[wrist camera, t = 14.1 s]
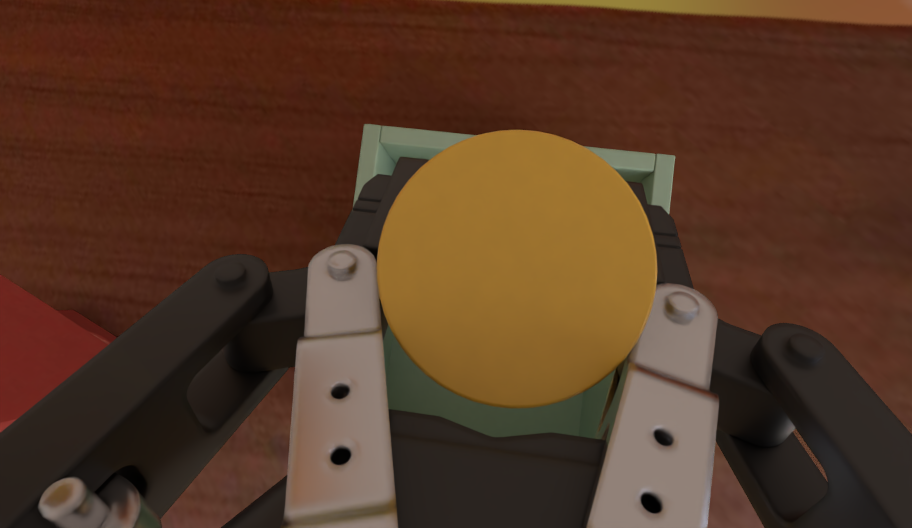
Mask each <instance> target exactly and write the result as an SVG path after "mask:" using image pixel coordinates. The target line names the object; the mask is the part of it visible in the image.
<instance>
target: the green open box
mask: <svg viewBox="0 0 912 528" xmlns="http://www.w3.org/2000/svg"><path fill="white" fill-rule="evenodd" d="M474 136H477V135H469V134H459V133H450V132H440V131H430V130H420V129H411V128H401V127H391V126H382V127H381V126H380V125H373V124H364V128H363V136H362V143H361V151H360V158H359V165H358V173H357V180H356V188H355V195H354V202H353V206H354V204H355V202H356V200H358V196H359V194H360V192H361V190H362V188H363V186H364V184H365V183H367V182H368V181H369V180H370V179H372V178H373V177H374V176H376V175H377V174H383V175H392V174H393V171H394V169H395V167H396V164H397V162H398V159H399V158H400V157H410V158H419V159H428V160H430V159H431V158H433V157H434V156H435V155H437V154H438V153H440V152H442V151H443V150H445V149H446V148H448V147H450V146H452V145H454V144H456V143H458V142H461V141H463V140H465V139H468V138H471V137H474ZM583 147H585V146H583ZM585 148H587V149H589V150H590V151H592V152H593V153H595V154H596V155H598V156H599V157H601V158H602V159H603V160H605V161H606V162H607V163H608V164H609V165H610V166H611V167H612V168H614V169H615V170H616V171H617V172H618V173H619V174H620V176H621V177H622V178H623V179H624V180H625V181H628V182H637V183H642V184H643V187H644V191H645V196H646V200H647V204H650V205H659V206H662V207H663V209H664V210H665V211H666V212H667V213H668V214H669V209H670V200H671V191H672V181H673V172H674V163H675V156H674V155H665V154H656V155H655V154H653V153H644V152H634V151H624V150H614V149H605V148H595V147H585ZM352 211H353V210H352ZM383 350H384V362H385V374H386V386H387V398H388V409H393V410H400V411H407V412H414V413H421V414H428V415H435V416H440V417H443V418H445V419H448V420H450V421H453V422H455V423H458V424H460V425H463V426H465V427H468V428H470V429H473V430H475V431H478V432H480V433H483V434H485V435H488V436H491V437H507V436H518V435H528V434H538V433H549V432H553V433H560V434H567V435H574V436H581V437H588V438H595V434H596V431H597V427H598V424H599V420H600V417H601V414H602V410H603V407H604V403H605V400H606V397H607V393H608V390H609V386H610V383H611V379H612V377H613V374H614V372H615V370H614V371H613V372H612V373H610V374H609V375H608V376H607V377H605V378H604V379H603V380H602V381H600V382H599V383H598V384H596V385H595V386H593V387H591V388H590V389H588V390H586V391H585V392H583V393H581V394H579V395H576V396H574V397H572V398H570V399H567V400H565V401H561V402H558V403H554V404H551V405H547V406H541V407H534V408H512V409H510V408H501V407H493V406H488V405H484V404H481V403H477V402H473V401H471V400H468V399H466V398H463V397H461V396H458V395H456V394H454V393H452V392H450V391H449V390H447V389H445V388H443V387H442V386H440V385H439V384H437V383H436V382H435V381H433V380H432V379H431V378H429V377H428V376H427V375H425V374H424V373H423V372H422V371H421V370H420V369H419V368H418V367H417V366H416V365H415V364H414V363H413V362H412V361H411V360H410V358H409V357H408V356H407V354H406V353H405V352H404V351H403V349H402V348H401V347H400V345H399V343H398V342H397V340H396V338H395V337H394V335H393V333H392V331H391V329H390V327H389V325H388V327H387V331H386V334H385V337H384V340H383Z"/></svg>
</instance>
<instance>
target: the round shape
mask: <svg viewBox="0 0 912 528" xmlns="http://www.w3.org/2000/svg"><path fill="white" fill-rule="evenodd" d="M377 283H378V290H379V297H380V301H381V304H382V308H383V311H384V315H385V317H386V320H387V322H388V324H389V327H390V329H391V331H392V333H393V335H394V337H395V338H396V340H397V342H398V343H399V345H400V347H401V348H402V349H403V351H404V352H405V353H406V354H407V356H408V357H409V358H410V360H411V361H412V362H413V363H414V364H415V365H416V366H417V367H418V368H419V369H420V370H421V371H422V372H423V373H424V374H425V375H427V376H428V377H429V378H431V379H432V380H433V381H435V382H436V383H437V384H439V385H440V386H442V387H443V388H445V389H447V390H449V391H450V392H452V393H454V394H456V395H458V396H461V397H463V398H466V399H468V400H471V401H473V402H477V403H481V404H484V405H488V406H493V407H501V408H510V409H512V408H534V407H541V406H547V405H551V404H554V403H558V402H561V401H565V400H567V399H570V398H572V397H574V396H576V395H579V394H581V393H583V392H585V391H586V390H588V389H590V388H591V387H593V386H595V385H596V384H598V383H599V382H600V381H602V380H603V379H604V378H605V377H607V376H608V375H609V374H610V373H612V372H613V371H614V370H615V369H616V368H617V367H618V366H619V364H620V363H621V362H622V361H623V360H624V359H625V358H626V357H627V355H628V354H629V353H630V351H631V350H632V348H633V347H634V346H635V344H636V343H637V341H638V339H639V337H640V335H641V334H642V332H643V330H644V328H645V326H646V323H647V320H648V318H649V315H650V312H651V310H652V306H653V301H654V297H655V292H656V283H657V253H656V248H655V243H654V237H653V233H652V230H651V227H650V224H649V221H648V218H647V216H646V214H645V212H644V210H643V208H642V206H641V203H640V201H639V200H638V198H637V197H636V195H635V194H634V192H633V191H632V189H631V188H630V186H629V185H628V184H627V182H626V181H625V180H624V179H623V178H622V177H621V176H620V174H619V173H618V172H617V171H616V170H615V169H614V168H612V167H611V166H610V165H609V164H608V163H607V162H606V161H605V160H603V159H602V158H601V157H599V156H598V155H596V154H595V153H593V152H592V151H590V150H589V149H587V148H585V147H583V146H581V145H579V144H577V143H575V142H573V141H571V140H568V139H565V138H562V137H559V136H557V135H553V134H548V133H544V132H539V131H529V130H501V131H495V132H490V133H484V134H480V135H477V136H474V137H471V138H468V139H465V140H463V141H461V142H458V143H456V144H454V145H452V146H450V147H448V148H446V149H445V150H443V151H442V152H440V153H438V154H437V155H435V156H434V157H433V158H431V159H430V160H429V161H428V162H427V163H425V164H424V165H423V166H422V167H420V169H419V170H418V171H417V172H416V173H415V174H414V175H413V176H412V177H411V178H410V179H409V180H408V182H407V183H406V184H405V186H404V187H403V188H402V190H401V191H400V193H399V194H398V196H397V197H396V199H395V201H394V203H393V205H392V207H391V208H390V210H389V213H388V215H387V218H386V221H385V223H384V226H383V229H382V233H381V237H380V241H379V246H378V255H377Z"/></svg>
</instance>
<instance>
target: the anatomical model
mask: <svg viewBox="0 0 912 528" xmlns="http://www.w3.org/2000/svg"><path fill="white" fill-rule="evenodd" d="M116 338H117V337H116V336H114V335H112V334H111V333H109V332H108V331H106V330H105V329H103V328H101V327H100V326H98V325H97V324H95V323H93V322H92V321H90V320H89V319H87V318H86V317H84V316H82V315H81V314H79V313H78V312H76V311H74V310H59V311H56V310H55V309H53V308H52V307H50V306H49V305H47V304H46V303H44V302H42V301H41V300H39V299H38V298H36V297H35V296H33V295H32V294H30V293H28V292H27V291H25V290H24V289H22V288H21V287H19V286H17V285H16V284H14V283H13V282H11V281H10V280H8V279H7V278H5V277H3V276H2V275H0V433H1V432H2V431H3V430H4V429H5V428H7V427H8V426H9V425H10V424H12V423H13V422H14V421H15V420H17V419H18V418H19V417H20V416H21V415H23V414H24V413H25V412H26V411H28V410H29V409H30V408H31V407H33V406H34V405H35V404H36V403H37V402H39V401H40V400H41V399H42V398H44V397H45V396H46V395H47V394H49V393H50V392H51V391H52V390H53V389H55V388H56V387H57V386H58V385H60V384H61V383H62V382H63V381H65V380H66V379H67V378H68V377H69V376H71V375H72V374H73V373H74V372H76V371H77V370H78V369H79V368H81V367H82V366H83V365H84V364H85V363H87V362H88V361H89V360H90V359H92V358H93V357H94V356H95V355H97V354H98V353H99V352H100V351H101V350H103V349H104V348H105V347H106V346H108V345H109V344H110V343H111V342H113V341H114V340H115V339H116Z"/></svg>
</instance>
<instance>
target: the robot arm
mask: <svg viewBox="0 0 912 528" xmlns="http://www.w3.org/2000/svg"><path fill="white" fill-rule="evenodd" d="M428 161H429V160H428V159H419V158H410V157H400V158H399V159H398V162H397V164H396V167H395V169H394V171H393V174H392V175H383V174H377V175H376V176H374V177H373V178H372V179H370V180H369V181H368V182H367V183H365V184H364V186H363V188H362V190H361V192H360V194H359V196H358V200H356V202H355V204H354V206H353V211H352V210H351V213H350V215H349V217H348V219H347V221H346V223H345V225H344V227H343V229H342V231H341V233H340V235H339V237H338V240H337V242H336V244H335V246H331V247H328V248H326V249H324V250H322V251H320V252H319V253H317V254H316V255H315V256H314V257H313V258H312V260H311V261H310V263H309V267H306V268H302V269H296V270H288V271H279V272H270V273H269V272H268V268H267V266H266V264H265V263H264V262H263V261H262V260H261V259H259V258H257V257H255V256H252V255H246V254H235V255H229V256H225V257H221V258H219V259H216V260H214V261H212V262H211V263H209V264H208V265H206V266H205V267H204V268H202V269H201V270H200V271H199V272H197V273H196V274H195V275H194V276H192V277H191V278H190V279H189V280H188V281H186V282H185V283H184V284H183V285H181V286H180V287H179V288H178V289H177V290H175V291H174V292H173V293H172V294H170V295H169V296H168V297H167V298H165V299H164V300H163V301H162V302H161V303H159V304H158V305H157V306H156V307H154V308H153V309H152V310H151V311H149V312H148V313H147V314H146V315H145V316H143V317H142V318H141V319H140V320H138V321H137V322H136V323H135V324H133V325H132V326H131V327H130V328H129V329H127V330H126V331H125V332H124V333H122V334H121V335H120V336H119V337H117V338H116V339H115V340H114V341H113V342H111V343H110V344H109V345H108V346H106V347H105V348H104V349H103V350H101V351H100V352H99V353H98V354H97V355H95V356H94V357H93V358H92V359H90V360H89V361H88V362H87V363H85V364H84V365H83V366H82V367H81V368H79V369H78V370H77V371H76V372H74V373H73V374H72V375H71V376H69V377H68V378H67V379H66V380H65V381H63V382H62V383H61V384H60V385H58V386H57V387H56V388H55V389H53V390H52V391H51V392H50V393H49V394H47V395H46V396H45V397H44V398H42V399H41V400H40V401H39V402H37V403H36V404H35V405H34V406H33V407H31V408H30V409H29V410H28V411H26V412H25V413H24V414H23V415H21V416H20V417H19V418H18V419H17V420H15V421H14V422H13V423H12V424H10V425H9V426H8V427H7V428H5V429H4V430H3V431H2V432H1V433H0V528H162V524H161V520H160V519H161V517H162V516H163V515H164V514H165V513H166V512H167V510H168V509H169V508H170V507H171V506H172V505H173V503H174V502H175V501H176V500H177V499H178V498H179V496H180V495H181V494H182V493H183V492H184V490H185V489H186V488H187V487H188V486H189V485H190V483H191V482H192V481H193V480H194V479H195V478H196V476H197V475H198V474H199V473H200V472H201V471H202V469H203V468H204V467H205V466H206V465H207V464H208V462H209V461H210V460H211V459H212V458H213V457H214V455H215V454H216V453H217V452H218V451H219V450H220V448H221V447H222V446H223V445H224V444H225V443H226V441H227V440H228V439H229V438H230V437H231V436H232V434H233V433H234V432H235V431H236V430H237V429H238V427H239V426H240V425H241V424H242V423H243V421H244V420H245V419H246V418H247V417H248V416H249V414H250V413H251V412H252V411H253V410H254V409H255V407H256V406H257V405H258V404H259V403H260V402H261V400H262V399H263V398H264V397H265V396H266V395H267V393H268V392H269V391H270V390H271V389H272V388H273V386H274V385H275V384H276V383H277V382H278V381H279V379H280V378H281V377H282V376H283V375H284V374H285V372H286V371H287V370H288V368H289V367H295V376H294V390H293V404H292V418H291V431H290V445H289V459H288V473H287V476H285V477H284V478H283V479H282V480H280V481H279V482H278V483H277V484H275V485H274V486H273V487H272V488H270V489H269V490H268V491H267V492H265V493H264V494H263V495H262V496H260V497H259V498H258V499H256V500H255V501H254V502H253V503H251V504H250V505H249V506H248V507H246V508H245V509H244V510H243V511H241V512H240V513H239V514H238V515H236V516H235V517H234V518H233V519H231V520H230V521H229V522H227V523H226V524H225V525H224V526H222V527H221V528H707V522H708V512H709V501H710V491H711V481H712V471H713V461H714V451H715V440H716V442H717V444H718V446H719V447H720V449H721V451H722V453H723V454H724V456H725V458H726V460H727V461H728V463H729V465H730V467H731V469H732V470H733V472H734V474H735V476H736V477H737V479H738V481H739V483H740V485H741V486H742V488H743V490H744V492H745V493H746V495H747V497H748V499H749V501H750V502H751V504H752V506H753V508H754V509H755V511H756V513H757V515H758V516H759V518H760V520H761V522H762V524H763V525H764V527H765V528H912V434H911V433H910V432H909V431H908V430H907V429H906V428H905V426H904V425H903V424H902V423H901V422H900V421H899V419H898V418H897V417H896V416H895V415H894V414H893V413H892V411H891V410H890V409H889V408H888V407H887V406H886V405H885V403H884V402H883V401H882V400H881V399H880V398H879V397H878V395H877V394H876V393H875V392H874V391H873V390H872V388H871V387H870V386H869V385H868V384H867V383H866V382H865V380H864V379H863V378H862V377H861V376H860V375H859V374H858V372H857V371H856V370H855V369H854V368H853V367H852V366H851V364H850V363H849V362H848V361H847V360H846V359H845V358H844V356H843V355H842V354H841V353H840V352H839V351H838V349H837V348H836V347H835V346H834V345H833V344H832V343H831V342H829V341H828V340H827V339H826V338H824V337H823V336H821V335H820V334H818V333H816V332H815V331H813V330H810V329H808V328H806V327H803V326H800V325H795V324H789V323H779V324H774V325H772V326H770V327H768V328H767V329H766V330H765V331H764V333H763V334H762V336H761V335H758V334H755V333H753V332H750V331H747V330H744V329H741V328H739V327H736V326H733V325H731V324H728V323H726V322H724V321H722V320H720V319H718V315H717V312H716V309H715V307H714V306H713V304H712V303H711V302H710V301H709V300H708V299H707V298H706V297H705V296H704V295H702V294H701V293H699V292H698V291H696V290H694V288H693V285H692V281H691V278H690V274H689V271H688V268H687V264H686V261H685V257H684V254H683V250H682V249H681V243H680V240H679V237H677V236H678V233H677V230H676V226H675V223H674V220H673V219H672V217H671V216H670V215H669V214H668V213H667V212H666V211H665V210H664V209H663V207H662V206H659V205H650V204H647V200H646V196H645V191H644V187H643V184H642V183H637V182H628V181H626V182H627V184H628V185H629V186H630V188H631V189H632V191H633V192H634V194H635V195H636V197H637V198H638V200H639V201H640V203H641V206H642V208H643V210H644V212H645V214H646V216H647V218H648V221H649V224H650V227H651V230H652V233H653V237H654V243H655V248H656V253H657V283H656V292H655V297H654V301H653V306H652V310H651V312H650V315H649V318H648V320H647V323H646V326H645V328H644V330H643V332H642V334H641V335H640V337H639V339H638V341H637V343H636V344H635V346H634V347H633V348H632V350H631V351H630V353H629V354H628V355H627V357H626V358H625V359H624V360H623V361H622V362H621V363H620V364H619V366H618V367H617V368H616V369H615V372H614V374H613V377H612V379H611V383H610V386H609V390H608V393H607V397H606V400H605V403H604V407H603V410H602V414H601V417H600V420H599V424H598V427H597V431H596V434H595V438H588V437H581V436H574V435H567V434H560V433H553V432H549V433H538V434H528V435H518V436H507V437H491V436H488V435H485V434H483V433H480V432H478V431H475V430H473V429H470V428H468V427H465V426H463V425H460V424H458V423H455V422H453V421H450V420H448V419H445V418H443V417H440V416H435V415H428V414H421V413H414V412H407V411H400V410H393V409H388V398H387V386H386V374H385V362H384V350H383V340H384V337H385V334H386V331H387V327H388V325H389V324H388V322H387V320H386V317H385V315H384V311H383V308H382V304H381V301H380V297H379V290H378V283H377V255H378V246H379V241H380V237H381V233H382V229H383V226H384V223H385V221H386V218H387V215H388V213H389V210H390V208H391V207H392V205H393V203H394V201H395V199H396V197H397V196H398V194H399V193H400V191H401V190H402V188H403V187H404V186H405V184H406V183H407V182H408V180H409V179H410V178H411V177H412V176H413V175H414V174H415V173H416V172H417V171H418V170H419V169H420V167H422V166H423V165H424V164H425V163H427V162H428ZM795 428H796V429H797V431H798V432H799V434H800V435H801V436H802V438H803V439H804V441H805V442H806V444H807V445H808V446H809V448H810V449H811V451H812V452H813V454H814V455H815V457H816V458H817V459H818V461H819V462H820V464H821V465H822V467H823V469H824V471H825V473H826V476H827V479H828V482H827V481H826V479H825V478H824V477H823V475H822V474H821V472H820V471H819V469H818V468H817V466H816V465H815V464H814V462H813V461H812V459H811V458H810V456H809V455H808V453H807V452H806V451H805V449H804V448H803V446H802V445H801V443H800V442H799V440H798V439H797V437H796V436H795V435H794V433H793V432H792V431H793V430H794V429H795Z"/></svg>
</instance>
